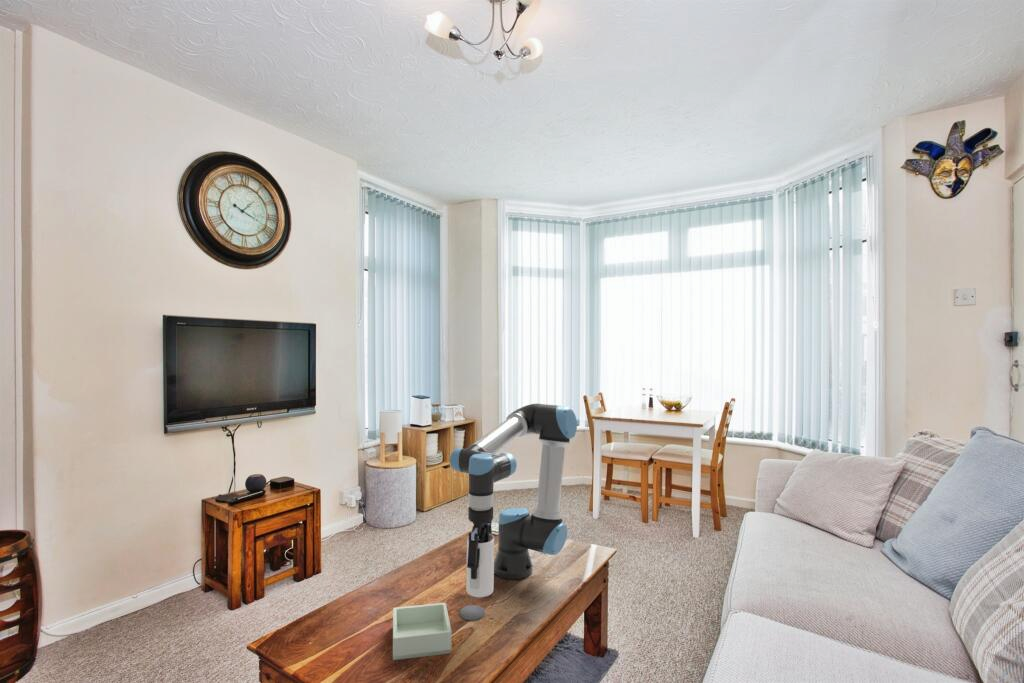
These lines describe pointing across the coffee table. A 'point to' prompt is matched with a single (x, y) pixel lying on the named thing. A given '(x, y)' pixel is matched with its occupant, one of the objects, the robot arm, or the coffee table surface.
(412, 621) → the bin
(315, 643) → the coffee table surface
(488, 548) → the cup
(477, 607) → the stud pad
